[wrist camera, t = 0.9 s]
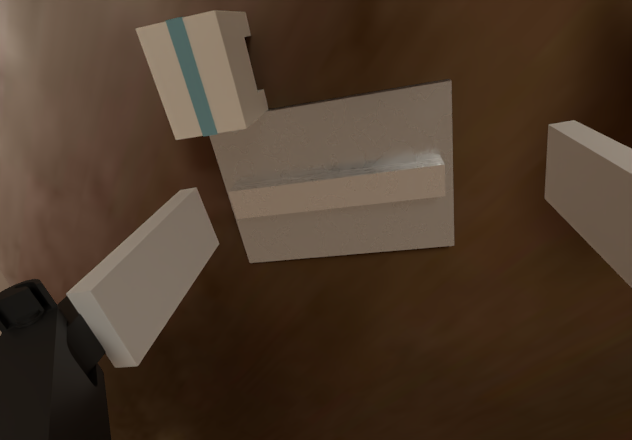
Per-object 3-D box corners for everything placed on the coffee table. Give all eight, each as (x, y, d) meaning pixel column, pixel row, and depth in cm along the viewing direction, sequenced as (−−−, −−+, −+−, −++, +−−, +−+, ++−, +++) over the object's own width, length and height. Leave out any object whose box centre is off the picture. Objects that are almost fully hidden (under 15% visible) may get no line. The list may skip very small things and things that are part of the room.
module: (179, 26, 32) (134, 27, 26) (245, 11, 31) (214, 9, 25) (209, 119, 36) (175, 141, 29) (268, 109, 34) (246, 129, 28)
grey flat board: (208, 119, 35) (196, 126, 33) (449, 78, 31) (456, 83, 29) (252, 258, 43) (245, 272, 40) (452, 240, 38) (458, 255, 36)
